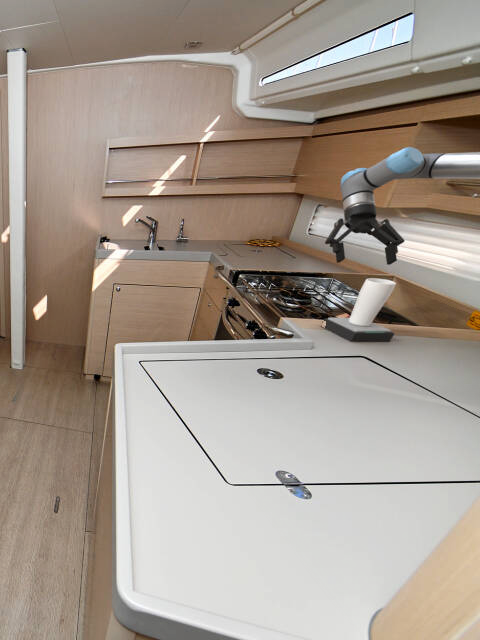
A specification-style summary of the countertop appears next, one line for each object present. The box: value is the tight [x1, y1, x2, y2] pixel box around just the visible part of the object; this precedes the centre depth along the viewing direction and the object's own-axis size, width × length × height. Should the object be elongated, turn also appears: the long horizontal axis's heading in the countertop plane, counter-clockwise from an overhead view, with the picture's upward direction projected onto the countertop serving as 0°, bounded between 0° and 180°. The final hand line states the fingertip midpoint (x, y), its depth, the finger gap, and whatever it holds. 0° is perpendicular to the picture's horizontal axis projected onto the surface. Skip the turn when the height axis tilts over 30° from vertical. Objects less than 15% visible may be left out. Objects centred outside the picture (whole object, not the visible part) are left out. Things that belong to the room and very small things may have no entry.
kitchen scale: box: [323, 317, 395, 343], centre depth 120 cm, size 12×12×4 cm
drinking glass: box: [348, 277, 397, 326], centre depth 116 cm, size 7×7×15 cm
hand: (365, 261), depth 119 cm, fingers open, 13 cm apart
